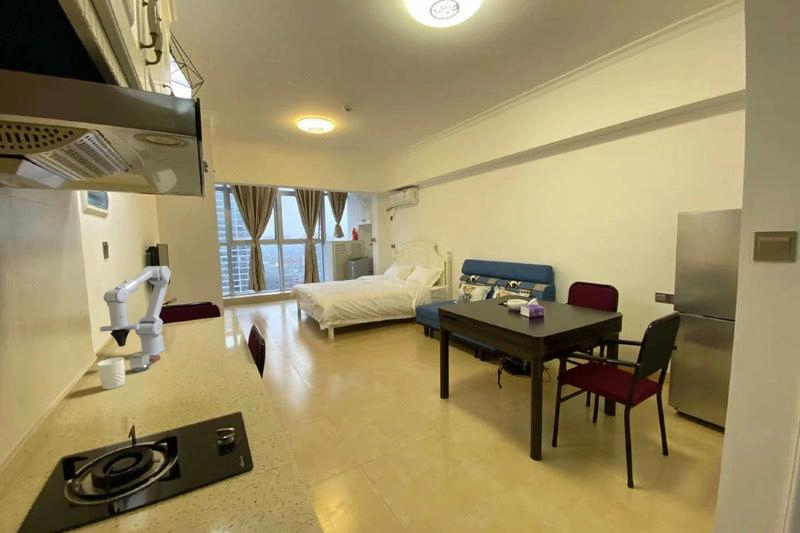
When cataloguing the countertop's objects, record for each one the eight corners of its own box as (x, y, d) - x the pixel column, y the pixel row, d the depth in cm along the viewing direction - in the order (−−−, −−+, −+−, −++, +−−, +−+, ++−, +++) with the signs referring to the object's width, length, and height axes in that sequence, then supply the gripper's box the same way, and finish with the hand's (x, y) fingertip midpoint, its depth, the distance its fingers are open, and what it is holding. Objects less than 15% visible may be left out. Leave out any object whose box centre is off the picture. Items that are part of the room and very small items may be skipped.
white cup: (132, 381, 131) (129, 357, 130) (113, 390, 123) (110, 365, 122) (114, 380, 132) (111, 357, 131) (94, 390, 124) (91, 365, 123)
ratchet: (149, 359, 154) (148, 350, 153) (163, 358, 155) (162, 349, 154) (128, 373, 139) (127, 363, 138) (143, 372, 140) (142, 362, 139)
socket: (137, 363, 144) (136, 352, 143) (149, 362, 145) (148, 352, 144) (130, 368, 139) (129, 357, 139) (142, 367, 140) (141, 356, 139)
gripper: (93, 319, 139) (97, 350, 141) (130, 317, 141) (134, 347, 143) (105, 315, 146) (108, 344, 148) (141, 313, 148) (144, 342, 150)
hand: (122, 345), depth 146 cm, fingers closed
